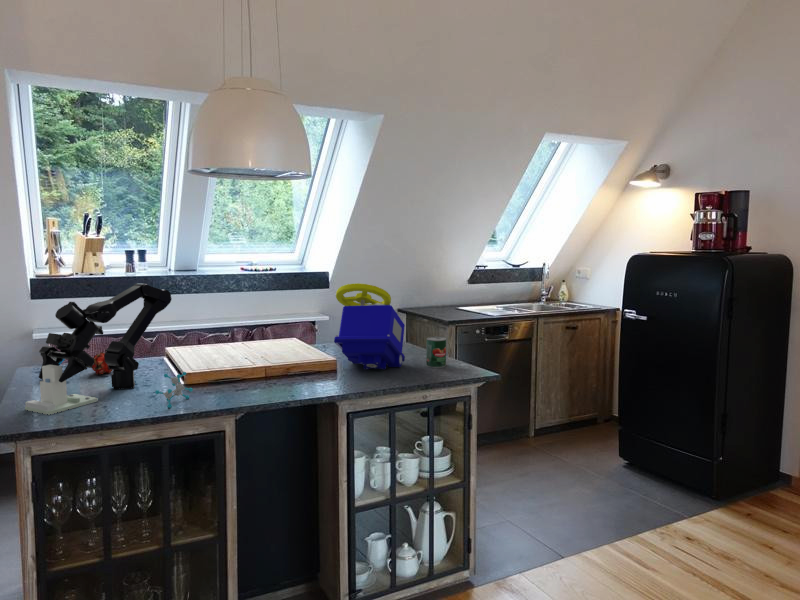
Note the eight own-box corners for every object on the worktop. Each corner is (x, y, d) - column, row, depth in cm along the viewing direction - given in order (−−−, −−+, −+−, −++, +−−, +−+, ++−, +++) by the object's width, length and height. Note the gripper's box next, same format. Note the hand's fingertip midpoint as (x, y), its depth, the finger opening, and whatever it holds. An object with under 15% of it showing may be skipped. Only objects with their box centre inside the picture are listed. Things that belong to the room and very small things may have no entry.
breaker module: (55, 400, 188) (53, 363, 186) (67, 402, 185) (65, 365, 184) (41, 404, 184) (38, 366, 182) (53, 406, 181) (50, 368, 180)
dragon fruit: (112, 373, 234) (101, 385, 222) (92, 361, 232) (79, 373, 220) (124, 356, 233) (113, 367, 221) (104, 344, 230) (92, 355, 219)
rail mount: (74, 396, 195) (73, 389, 195) (97, 401, 191) (97, 393, 190) (25, 410, 181) (24, 402, 181) (49, 415, 176) (48, 407, 176)
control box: (384, 355, 218) (393, 281, 231) (316, 355, 226) (328, 283, 238) (403, 378, 241) (410, 309, 253) (340, 377, 248) (350, 310, 260)
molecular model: (175, 425, 189) (203, 391, 200) (177, 400, 179) (206, 367, 190) (142, 407, 189) (171, 375, 200) (143, 382, 180) (174, 349, 191)
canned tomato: (440, 368, 237) (440, 341, 236) (422, 366, 241) (422, 339, 240) (449, 365, 244) (449, 337, 242) (432, 362, 248) (432, 336, 246)
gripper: (42, 320, 189) (9, 362, 181) (83, 324, 182) (51, 368, 173) (67, 341, 197) (37, 381, 189) (107, 346, 190) (77, 389, 181)
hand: (49, 380), depth 183 cm, fingers open, 9 cm apart
